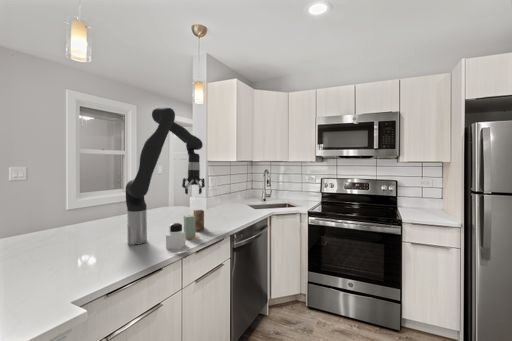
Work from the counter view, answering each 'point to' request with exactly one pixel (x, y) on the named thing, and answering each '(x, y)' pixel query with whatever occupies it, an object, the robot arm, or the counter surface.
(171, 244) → the medicine bottle
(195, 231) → the slate tile
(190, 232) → the sage block
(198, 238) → the oak tile
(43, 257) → the counter surface
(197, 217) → the walnut block
